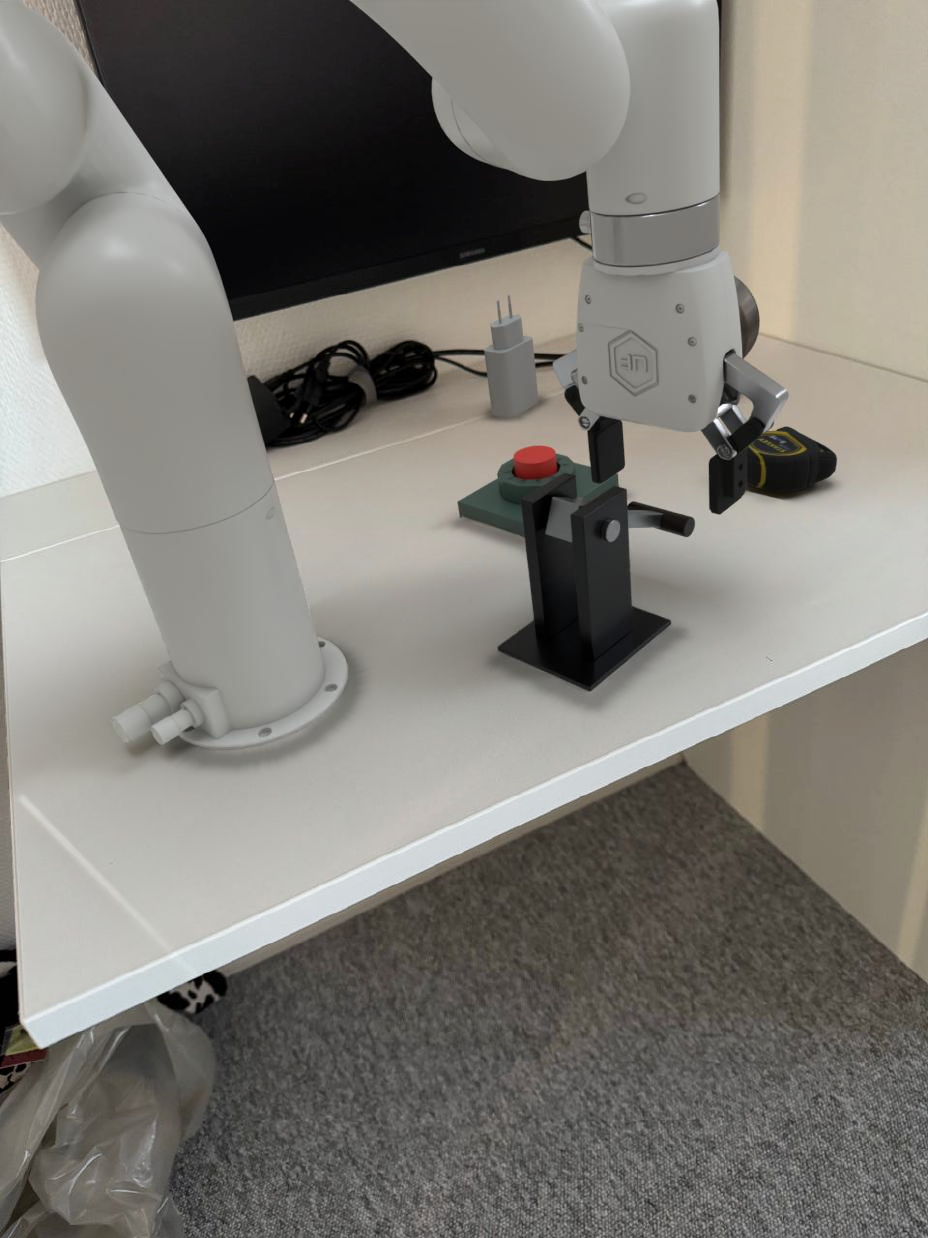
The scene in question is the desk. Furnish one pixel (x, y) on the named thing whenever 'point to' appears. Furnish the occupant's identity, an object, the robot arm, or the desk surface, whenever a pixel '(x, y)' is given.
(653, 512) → the lever
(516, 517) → the green switch base
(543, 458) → the button
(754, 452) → the tape measure
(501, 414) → the power adapter
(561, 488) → the bracket
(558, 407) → the desk surface
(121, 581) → the desk surface
